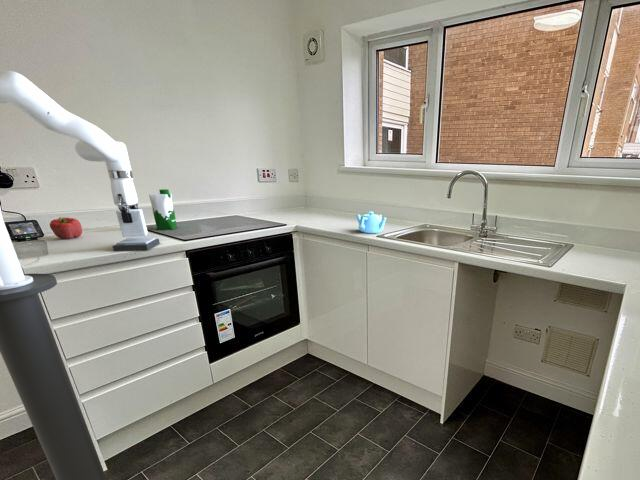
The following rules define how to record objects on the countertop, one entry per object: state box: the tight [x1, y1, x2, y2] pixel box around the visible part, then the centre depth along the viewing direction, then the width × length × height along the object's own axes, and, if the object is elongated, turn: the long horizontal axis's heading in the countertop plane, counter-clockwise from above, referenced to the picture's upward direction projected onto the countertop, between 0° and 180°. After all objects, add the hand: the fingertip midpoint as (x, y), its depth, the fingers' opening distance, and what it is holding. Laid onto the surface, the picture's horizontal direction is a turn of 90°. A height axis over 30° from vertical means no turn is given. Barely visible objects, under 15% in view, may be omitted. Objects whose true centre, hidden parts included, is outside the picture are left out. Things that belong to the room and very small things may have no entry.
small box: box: [115, 208, 149, 238], centre depth 144 cm, size 8×6×10 cm
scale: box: [112, 236, 161, 252], centre depth 147 cm, size 13×12×3 cm
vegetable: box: [49, 216, 83, 240], centre depth 156 cm, size 11×10×10 cm
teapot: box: [355, 211, 387, 234], centre depth 197 cm, size 15×15×11 cm
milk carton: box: [148, 188, 178, 231], centre depth 183 cm, size 9×9×20 cm
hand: (132, 221), depth 144 cm, fingers closed on small box, 6 cm apart
